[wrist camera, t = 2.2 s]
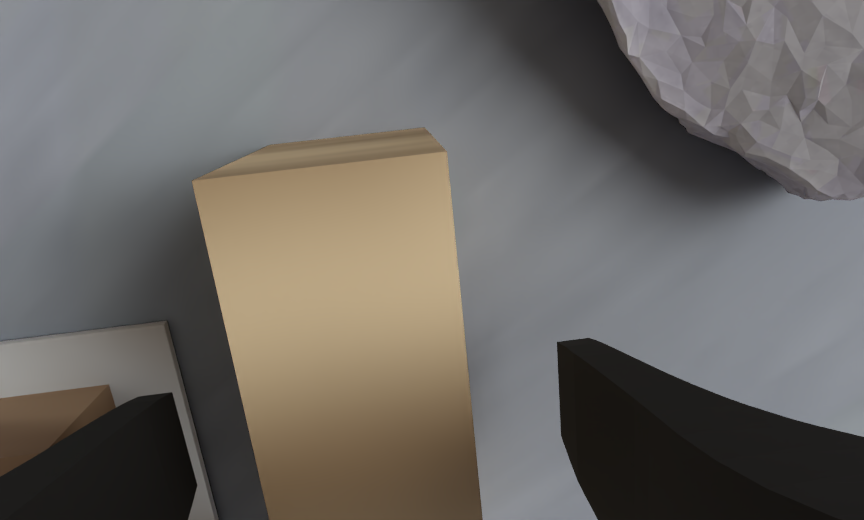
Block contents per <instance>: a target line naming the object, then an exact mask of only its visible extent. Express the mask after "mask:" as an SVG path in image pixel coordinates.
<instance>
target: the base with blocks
mask: <svg viewBox="0 0 864 520" xmlns="http://www.w3.org/2000/svg"><path fill="white" fill-rule="evenodd" d="M169 392H172V393H173V397H174V401H175V404H176V408H177V412H178V415H179V419H180V423H181V426H182V430H183V434H184V437H185V441H186V445H187V449H188V452H189V456H190V460H191V463H192V467H193V471H194V474H195V478H196V482H197V489H196V493H195V496H194V500H193V504H192V508H191V511H190V515H189V518H188V520H219V519H218V515H217V511H216V507H215V504H214V500H213V496H212V492H211V488H210V484H209V480H208V477H207V473H206V469H205V465H204V461H203V457H202V454H201V450H200V446H199V442H198V438H197V434H196V430H195V427H194V423H193V419H192V415H191V411H190V407H189V403H188V400H187V396H186V392H185V388H184V384H183V380H182V377H181V373H180V369H179V365H178V361H177V357H176V353H175V350H174V346H173V342H172V338H171V334H170V330H169V326H168V323H167V321H160V322H152V323H144V324H136V325H128V326H120V327H112V328H104V329H96V330H88V331H80V332H72V333H64V334H56V335H48V336H39V337H31V338H23V339H15V340H7V341H0V476H2V475H4V474H6V473H7V472H9V471H11V470H13V469H14V468H16V467H18V466H19V465H21V464H23V463H25V462H26V461H28V460H30V459H32V458H33V457H35V456H37V455H38V454H40V453H41V452H43V451H45V450H46V449H48V448H50V447H51V446H53V445H54V444H56V443H58V442H59V441H61V440H63V439H64V438H66V437H68V436H69V435H71V434H72V433H74V432H76V431H77V430H79V429H81V428H82V427H84V426H86V425H87V424H89V423H90V422H92V421H94V420H95V419H97V418H99V417H100V416H102V415H104V414H106V413H107V412H109V411H111V410H113V409H114V408H116V407H118V406H120V405H122V404H124V403H126V402H128V401H130V400H132V399H134V398H136V397H139V396H146V395H154V394H161V393H169Z"/></svg>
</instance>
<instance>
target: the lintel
mask: <svg viewBox="0 0 864 520" xmlns="http://www.w3.org/2000/svg"><path fill="white" fill-rule="evenodd" d="M192 184H193V188H194V193H195V197H196V202H197V206H198V210H199V215H200V219H201V223H202V228H203V232H204V237H205V241H206V245H207V250H208V254H209V259H210V263H211V267H212V272H213V276H214V280H215V285H216V289H217V294H218V298H219V302H220V307H221V311H222V315H223V320H224V324H225V329H226V333H227V337H228V342H229V346H230V350H231V355H232V359H233V364H234V368H235V372H236V377H237V381H238V385H239V390H240V394H241V399H242V403H243V407H244V412H245V416H246V420H247V425H248V429H249V434H250V438H251V442H252V447H253V451H254V455H255V460H256V464H257V469H258V473H259V477H260V482H261V486H262V490H263V495H264V499H265V504H266V508H267V512H268V517H269V520H482V509H481V499H480V489H479V478H478V468H477V458H476V448H475V437H474V427H473V417H472V406H471V396H470V386H469V375H468V365H467V355H466V344H465V334H464V324H463V314H462V303H461V293H460V283H459V272H458V262H457V252H456V241H455V231H454V221H453V211H452V200H451V190H450V180H449V169H448V159H447V151H446V150H445V149H444V148H443V147H442V146H441V145H440V144H439V143H438V142H437V140H436V139H435V138H434V137H433V136H432V135H431V134H430V133H429V132H428V131H427V130H426V129H425V128H415V129H407V130H398V131H389V132H380V133H371V134H362V135H354V136H345V137H336V138H327V139H318V140H309V141H301V142H292V143H283V144H274V145H269V146H266V147H264V148H262V149H260V150H258V151H256V152H253V153H251V154H249V155H247V156H245V157H243V158H240V159H238V160H236V161H234V162H232V163H229V164H227V165H225V166H223V167H221V168H219V169H216V170H214V171H212V172H210V173H208V174H206V175H203V176H201V177H199V178H197V179H195V180H192Z"/></svg>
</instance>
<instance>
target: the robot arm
mask: <svg viewBox="0 0 864 520" xmlns="http://www.w3.org/2000/svg"><path fill="white" fill-rule="evenodd" d="M557 352H558V375H559V397H560V420H561V436H562V439H563V442H564V445H565V448H566V450H567V453H568V456H569V459H570V462H571V464H572V467H573V469H574V472H575V475H576V477H577V480H578V482H579V484H580V486H581V488H582V490H583V492H584V494H585V496H586V498H587V500H588V502H589V503H590V505H591V507H592V509H593V511H594V513H595V515H596V517H597V519H598V520H864V437H861V436H857V435H853V434H849V433H845V432H840V431H836V430H832V429H828V428H824V427H819V426H815V425H811V424H808V423H804V422H800V421H797V420H793V419H790V418H786V417H783V416H780V415H777V414H773V413H770V412H767V411H764V410H761V409H758V408H755V407H751V406H748V405H745V404H742V403H739V402H737V401H734V400H731V399H728V398H726V397H723V396H720V395H718V394H715V393H713V392H710V391H708V390H705V389H703V388H700V387H698V386H695V385H693V384H690V383H688V382H686V381H683V380H681V379H679V378H677V377H674V376H672V375H670V374H668V373H665V372H663V371H661V370H659V369H657V368H654V367H652V366H650V365H648V364H646V363H644V362H642V361H640V360H638V359H635V358H633V357H631V356H629V355H627V354H625V353H623V352H621V351H619V350H617V349H615V348H612V347H610V346H608V345H606V344H604V343H601V342H599V341H596V340H593V339H590V338H585V339H577V340H569V341H562V342H557ZM196 489H197V482H196V478H195V474H194V471H193V467H192V463H191V460H190V456H189V452H188V449H187V445H186V441H185V437H184V434H183V430H182V426H181V423H180V419H179V415H178V412H177V408H176V404H175V401H174V397H173V393H172V392H169V393H161V394H154V395H146V396H139V397H136V398H134V399H132V400H130V401H128V402H126V403H124V404H122V405H120V406H118V407H116V408H114V409H113V410H111V411H109V412H107V413H106V414H104V415H102V416H100V417H99V418H97V419H95V420H94V421H92V422H90V423H89V424H87V425H86V426H84V427H82V428H81V429H79V430H77V431H76V432H74V433H72V434H71V435H69V436H68V437H66V438H64V439H63V440H61V441H59V442H58V443H56V444H54V445H53V446H51V447H50V448H48V449H46V450H45V451H43V452H41V453H40V454H38V455H37V456H35V457H33V458H32V459H30V460H28V461H26V462H25V463H23V464H21V465H19V466H18V467H16V468H14V469H13V470H11V471H9V472H7V473H6V474H4V475H2V476H0V520H188V518H189V515H190V511H191V508H192V504H193V500H194V496H195V493H196Z"/></svg>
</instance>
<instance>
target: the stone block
mask: <svg viewBox="0 0 864 520" xmlns="http://www.w3.org/2000/svg"><path fill="white" fill-rule="evenodd" d="M597 1H598V3H599V4H600V6H601V7H602V9H603V11H604V13H605V15H606V17H607V19H608V21H609V23H610V25H611V27H612V30H613V32H614V34H615V37H616V40H617V43H618V46H619V48H620V49H621V50H622V52H623V53H624V54H625V56H626V57H627V58H628V59H629V61H630V62H631V64H632V65H633V66H634V68H635V69H636V71H637V72H638V74H639V75H640V76H641V78H642V80H643V81H644V83H645V85H646V86H647V88H648V90H649V91H650V93H651V95H652V96H653V98H654V99H655V100H656V101H657V103H658V104H659V105H660V106H661V107H662V108H663V109H664V110H665V111H667V112H668V113H669V114H671V115H672V116H674V117H676V118H678V119H679V122H680V124H682V125H683V126H684V127H686V130H687V132H688V133H690V134H692V135H695V136H698V137H700V138H703V139H705V140H708V141H710V142H712V143H715V144H717V145H720V146H723V147H726V148H728V149H730V150H733V151H735V152H737V153H738V154H740V155H741V156H742V157H743V158H744V159H745V160H747V161H748V162H749V163H750V164H752V165H753V166H754V167H756V168H757V169H759V170H761V171H762V172H764V173H765V174H767V175H768V176H770V177H772V178H774V179H775V180H776V181H778V182H779V183H780V184H781V185H782V186H783V187H784V188H785V189H786V191H787V192H788V193H791V194H794V195H797V196H800V197H801V198H803V199H813V200H818V201H825V200H832V199H833V200H854V199H858V198H861V197H864V0H597Z"/></svg>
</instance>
